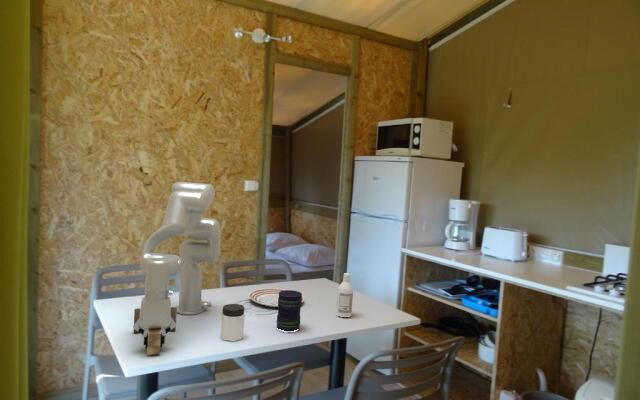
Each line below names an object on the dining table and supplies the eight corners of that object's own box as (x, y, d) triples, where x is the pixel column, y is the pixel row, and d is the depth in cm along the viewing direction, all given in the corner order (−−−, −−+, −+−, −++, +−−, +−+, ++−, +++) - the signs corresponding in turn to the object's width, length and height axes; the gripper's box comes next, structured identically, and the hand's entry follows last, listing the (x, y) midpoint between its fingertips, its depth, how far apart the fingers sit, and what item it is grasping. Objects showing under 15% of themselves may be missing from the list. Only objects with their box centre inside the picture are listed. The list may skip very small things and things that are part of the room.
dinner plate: (314, 302, 223) (314, 296, 223) (281, 315, 200) (281, 308, 200) (271, 291, 238) (272, 285, 238) (236, 302, 215) (237, 295, 215)
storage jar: (290, 335, 176) (293, 298, 175) (271, 328, 181) (273, 293, 180) (304, 328, 184) (306, 293, 184) (285, 322, 190) (287, 288, 189)
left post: (140, 331, 169) (142, 308, 168) (140, 333, 166) (141, 310, 166) (133, 331, 168) (134, 308, 167) (133, 334, 165) (134, 310, 165)
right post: (175, 329, 173) (176, 307, 172) (175, 331, 171) (176, 309, 170) (168, 329, 172) (169, 307, 172) (168, 332, 170) (169, 309, 169)
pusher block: (160, 342, 158) (161, 323, 157) (159, 353, 148) (160, 333, 148) (148, 342, 156) (149, 323, 156) (147, 354, 147) (148, 334, 146)
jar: (234, 331, 175) (236, 302, 175) (247, 337, 170) (249, 307, 169) (215, 337, 168) (217, 306, 168) (229, 343, 163) (231, 311, 162)
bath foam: (353, 318, 202) (356, 275, 201) (339, 319, 200) (342, 275, 198) (347, 313, 209) (350, 271, 207) (333, 314, 206) (337, 272, 205)
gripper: (181, 290, 158) (179, 340, 159) (130, 292, 152) (128, 343, 153) (182, 297, 150) (179, 349, 152) (129, 298, 145) (126, 352, 146)
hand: (154, 345), depth 152 cm, fingers closed on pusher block, 4 cm apart
